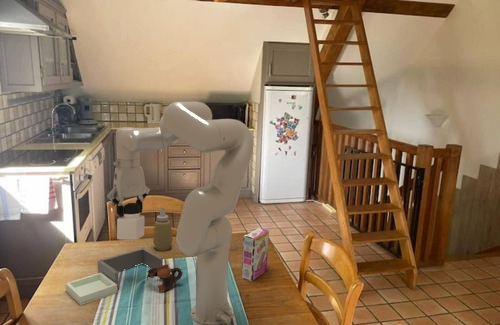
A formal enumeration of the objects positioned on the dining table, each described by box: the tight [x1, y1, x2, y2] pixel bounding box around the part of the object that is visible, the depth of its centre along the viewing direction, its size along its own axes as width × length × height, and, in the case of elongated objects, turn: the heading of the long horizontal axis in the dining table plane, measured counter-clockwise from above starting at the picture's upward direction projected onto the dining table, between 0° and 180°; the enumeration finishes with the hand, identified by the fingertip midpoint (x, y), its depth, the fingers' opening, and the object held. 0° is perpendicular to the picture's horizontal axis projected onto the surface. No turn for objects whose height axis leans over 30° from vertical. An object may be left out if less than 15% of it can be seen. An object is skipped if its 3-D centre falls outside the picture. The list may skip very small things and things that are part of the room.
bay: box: [97, 247, 164, 290], centre depth 143 cm, size 13×18×6 cm
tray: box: [65, 272, 118, 306], centre depth 130 cm, size 12×12×3 cm
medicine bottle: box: [116, 202, 145, 241], centre depth 138 cm, size 7×7×12 cm
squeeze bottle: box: [152, 207, 174, 252], centre depth 166 cm, size 8×8×18 cm
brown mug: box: [146, 264, 184, 293], centre depth 136 cm, size 12×9×8 cm
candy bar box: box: [241, 227, 270, 282], centre depth 145 cm, size 11×5×16 cm, turn 149°
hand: (129, 213), depth 138 cm, fingers closed on medicine bottle, 6 cm apart
